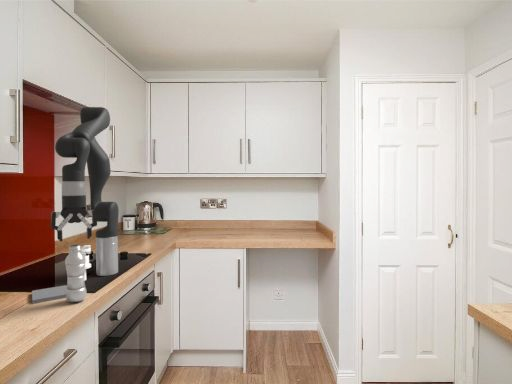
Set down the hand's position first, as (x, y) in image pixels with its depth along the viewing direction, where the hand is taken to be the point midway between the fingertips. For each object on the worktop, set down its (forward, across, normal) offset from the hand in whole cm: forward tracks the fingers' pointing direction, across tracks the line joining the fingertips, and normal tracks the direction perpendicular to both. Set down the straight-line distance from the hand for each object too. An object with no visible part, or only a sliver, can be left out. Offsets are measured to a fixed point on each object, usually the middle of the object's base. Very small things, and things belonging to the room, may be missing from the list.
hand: (74, 239), depth 116 cm
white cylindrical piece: (+22, -5, -26) cm, 35 cm away
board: (+22, +6, -12) cm, 26 cm away
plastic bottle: (+22, 0, 0) cm, 22 cm away
